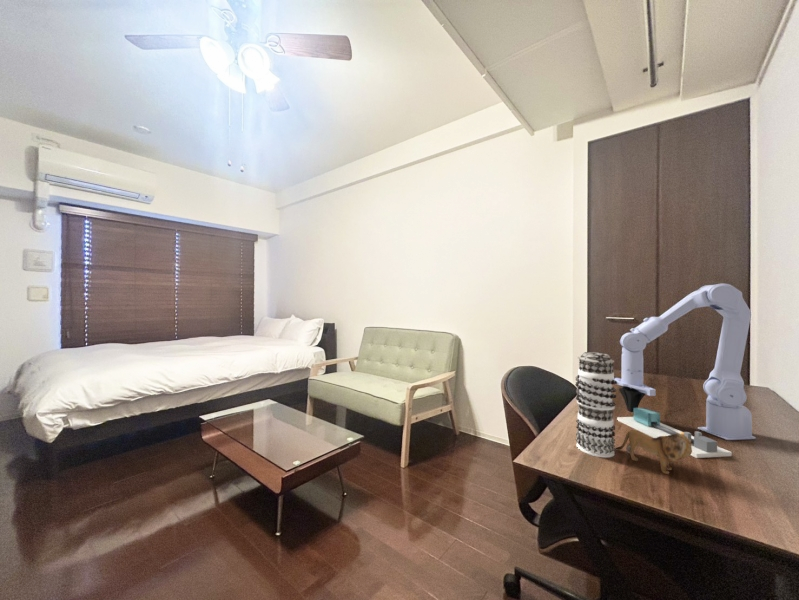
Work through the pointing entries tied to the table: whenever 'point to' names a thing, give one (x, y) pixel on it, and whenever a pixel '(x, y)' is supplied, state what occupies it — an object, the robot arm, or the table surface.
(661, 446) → the lion figurine
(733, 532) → the table surface
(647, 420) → the sleeve
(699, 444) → the cable board
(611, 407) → the decorative candle
